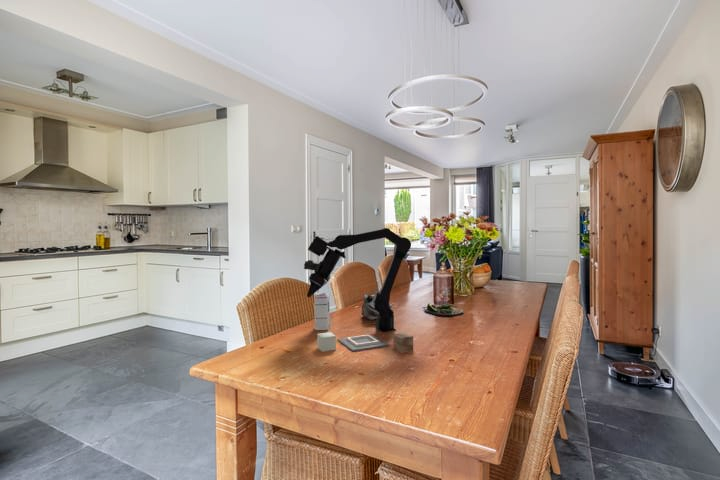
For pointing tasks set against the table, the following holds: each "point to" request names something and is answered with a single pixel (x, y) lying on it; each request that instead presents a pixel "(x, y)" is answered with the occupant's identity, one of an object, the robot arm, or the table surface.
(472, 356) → the table surface
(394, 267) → the robot arm
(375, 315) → the lucky cat figurine
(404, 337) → the walnut block
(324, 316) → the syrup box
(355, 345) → the square panel
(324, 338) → the sage block
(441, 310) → the salad plate
